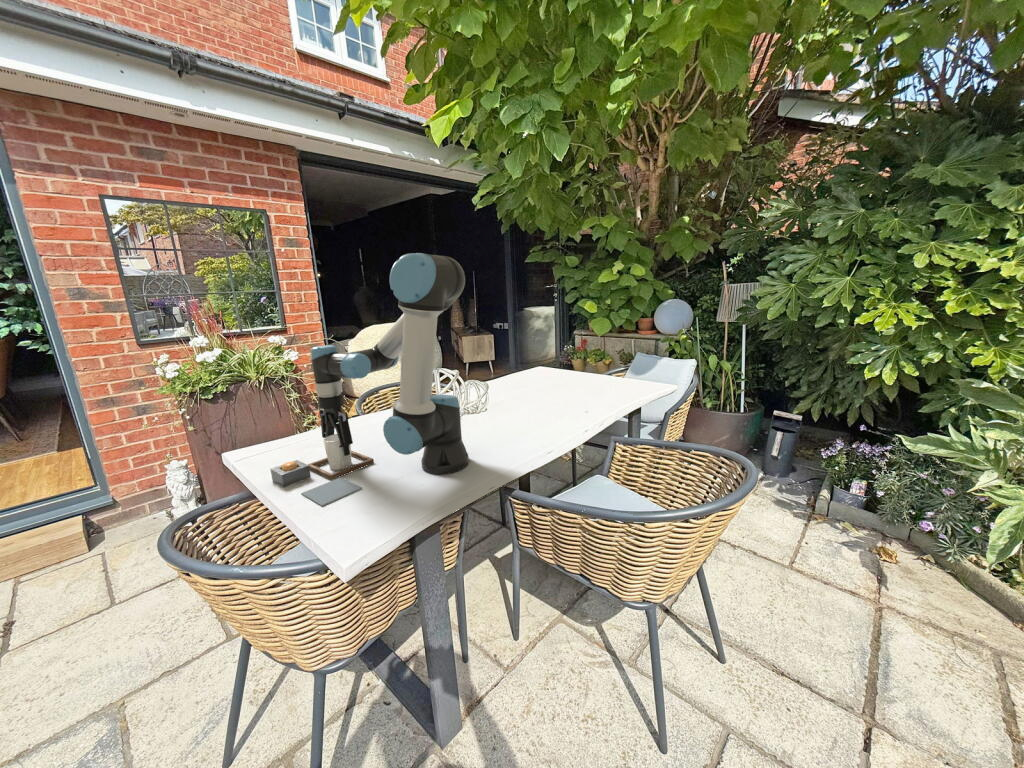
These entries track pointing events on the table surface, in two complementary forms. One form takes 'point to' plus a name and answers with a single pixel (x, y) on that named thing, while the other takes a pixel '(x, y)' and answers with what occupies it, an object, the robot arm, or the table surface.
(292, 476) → the housing
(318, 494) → the mat
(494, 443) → the table surface
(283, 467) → the orange rounded block
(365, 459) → the collar
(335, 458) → the white cup
